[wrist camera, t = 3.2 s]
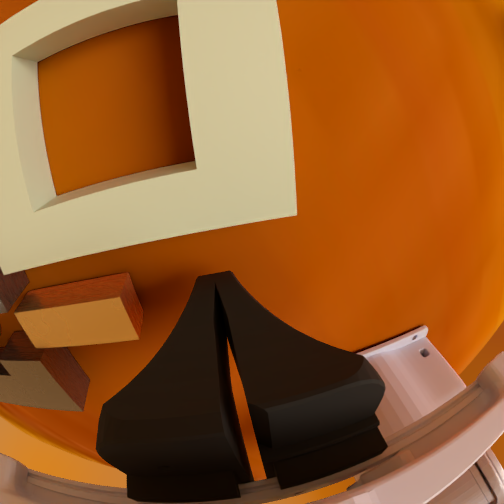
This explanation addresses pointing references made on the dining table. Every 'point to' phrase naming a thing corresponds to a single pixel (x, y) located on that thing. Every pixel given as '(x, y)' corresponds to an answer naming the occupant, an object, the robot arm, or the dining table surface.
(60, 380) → the socket block
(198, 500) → the robot arm
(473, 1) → the dining table surface
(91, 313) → the drift key
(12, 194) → the cream flat rectangular frame
